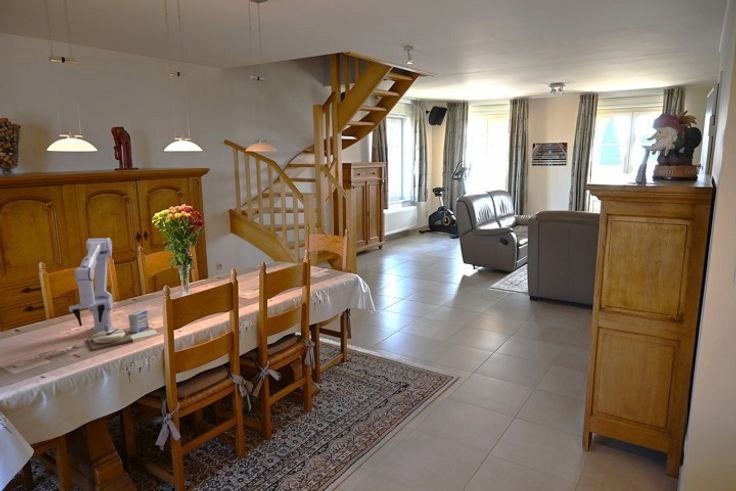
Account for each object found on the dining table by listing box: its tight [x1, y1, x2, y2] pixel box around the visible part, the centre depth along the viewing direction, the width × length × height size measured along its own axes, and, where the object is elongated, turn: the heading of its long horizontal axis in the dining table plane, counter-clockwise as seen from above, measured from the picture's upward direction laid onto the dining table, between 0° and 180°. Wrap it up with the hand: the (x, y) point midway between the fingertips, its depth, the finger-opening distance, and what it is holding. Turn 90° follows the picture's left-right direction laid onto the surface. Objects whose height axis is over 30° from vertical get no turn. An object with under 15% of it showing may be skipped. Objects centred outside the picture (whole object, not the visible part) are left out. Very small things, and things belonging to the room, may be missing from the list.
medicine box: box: [128, 309, 149, 334], centre depth 234 cm, size 8×4×9 cm, turn 168°
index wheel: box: [92, 324, 125, 343], centre depth 220 cm, size 13×13×5 cm
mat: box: [129, 329, 158, 340], centre depth 229 cm, size 7×11×1 cm, turn 127°
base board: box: [86, 329, 134, 352], centre depth 221 cm, size 16×16×1 cm
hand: (90, 323), depth 219 cm, fingers open, 7 cm apart
